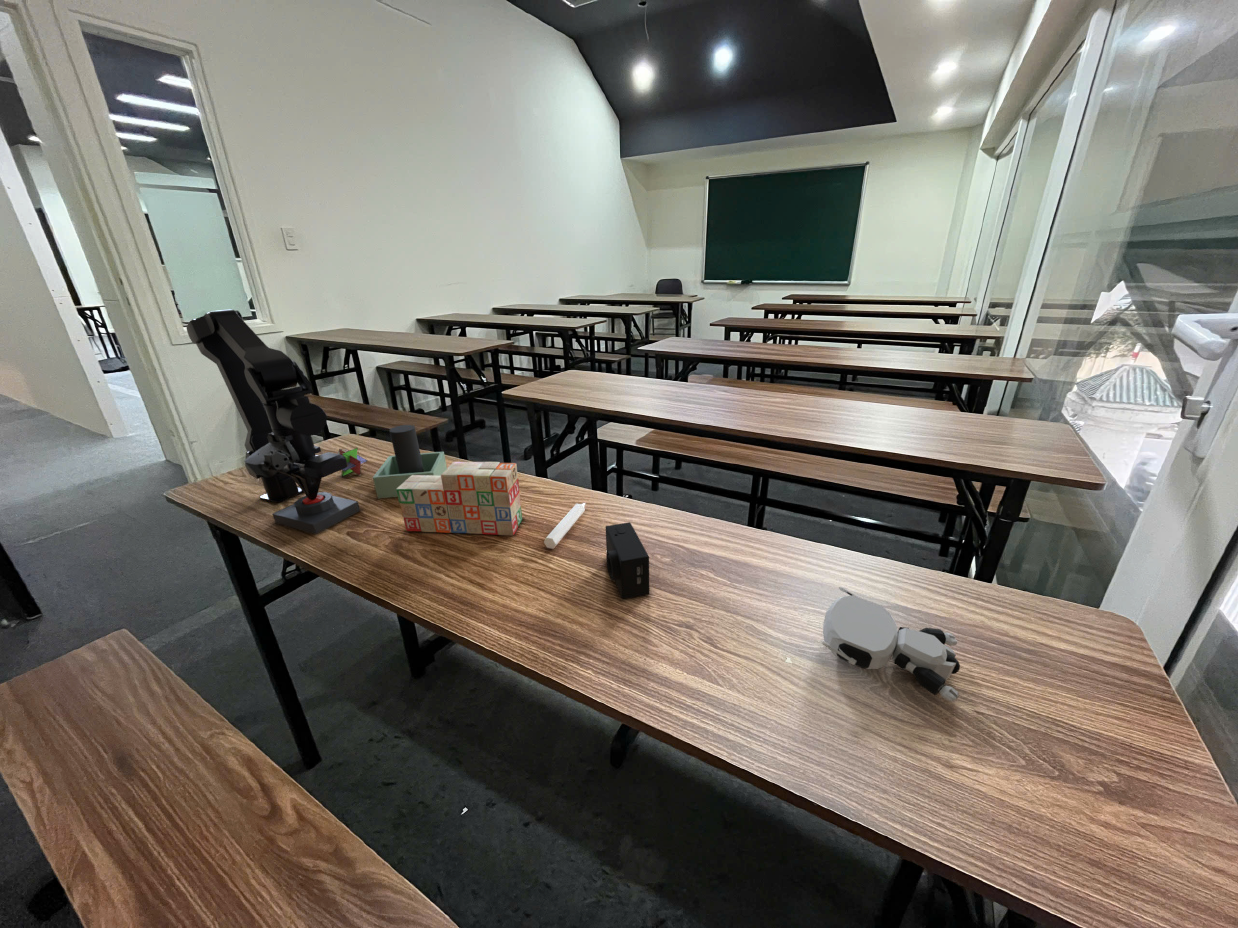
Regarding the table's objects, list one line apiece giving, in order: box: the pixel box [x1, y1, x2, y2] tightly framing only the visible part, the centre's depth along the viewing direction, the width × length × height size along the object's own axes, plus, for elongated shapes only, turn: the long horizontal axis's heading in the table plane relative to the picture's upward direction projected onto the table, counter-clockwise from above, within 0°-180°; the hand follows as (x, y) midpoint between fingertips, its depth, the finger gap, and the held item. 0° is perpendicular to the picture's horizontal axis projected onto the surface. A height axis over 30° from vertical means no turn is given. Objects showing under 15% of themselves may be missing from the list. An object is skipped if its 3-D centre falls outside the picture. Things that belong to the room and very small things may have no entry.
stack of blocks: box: [396, 461, 523, 536], centre depth 91 cm, size 21×6×12 cm, turn 84°
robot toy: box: [821, 586, 961, 703], centre depth 60 cm, size 12×4×15 cm
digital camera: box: [604, 522, 650, 600], centre depth 75 cm, size 10×5×7 cm, turn 14°
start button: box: [303, 495, 324, 505], centre depth 97 cm, size 4×4×2 cm
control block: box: [272, 491, 361, 535], centre depth 97 cm, size 12×10×4 cm
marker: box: [543, 502, 586, 550], centre depth 91 cm, size 3×2×16 cm
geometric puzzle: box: [337, 447, 369, 477], centre depth 116 cm, size 7×7×8 cm
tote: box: [372, 451, 448, 499], centre depth 110 cm, size 13×13×5 cm
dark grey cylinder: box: [388, 424, 424, 474], centre depth 108 cm, size 5×5×13 cm
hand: (312, 498), depth 96 cm, fingers closed, pressing on start button
